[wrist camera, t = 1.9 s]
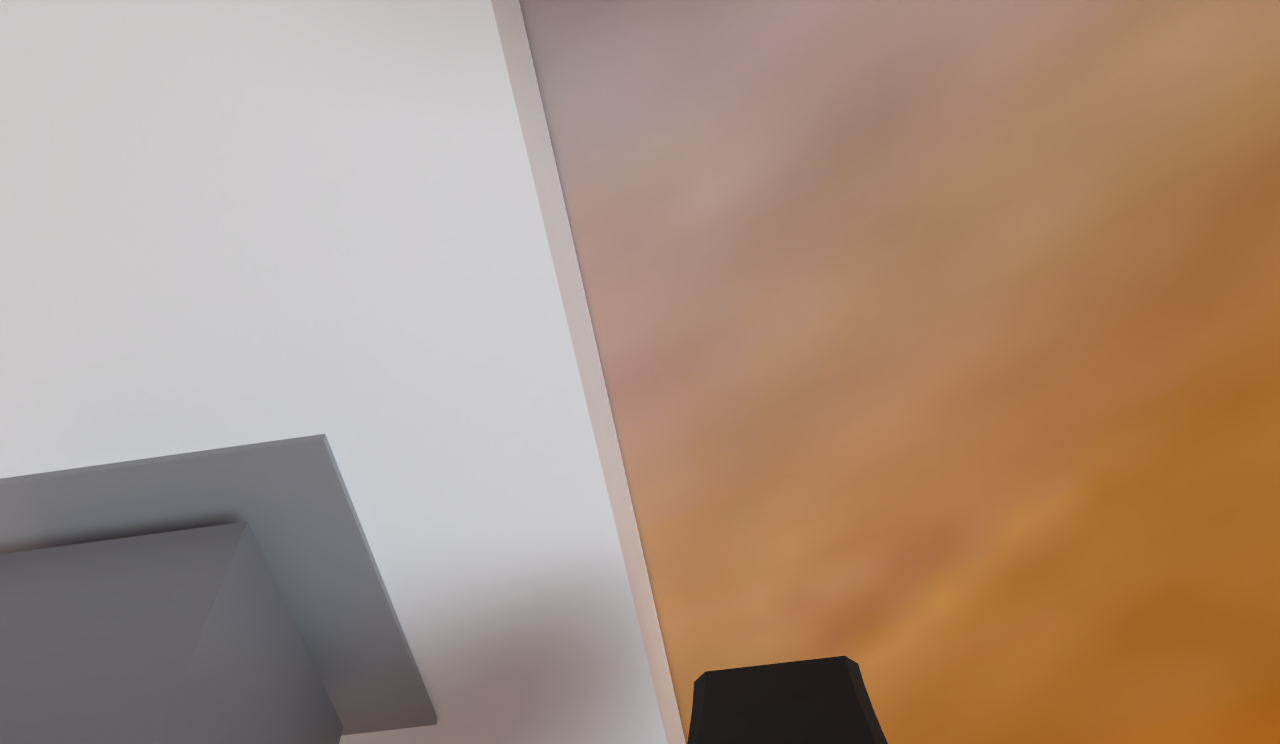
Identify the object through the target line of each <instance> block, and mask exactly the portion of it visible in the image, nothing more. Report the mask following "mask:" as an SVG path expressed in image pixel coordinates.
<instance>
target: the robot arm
mask: <svg viewBox="0 0 1280 744" xmlns="http://www.w3.org/2000/svg"><path fill="white" fill-rule="evenodd" d="M687 744H888V743H887V741H886V738H885V736H884V734H883V732H882V729H881V727H880V725H879V722H878V720H877V717H876V715H875V712H874V710H873V707H872V705H871V702H870V699H869V696H868V694H867V691H866V688H865V685H864V682H863V679H862V676H861V672H860V669H859V665H858V664H857V663H856V662H854V661H852V660H851V659H849V658H847V657H846V656H839V657H830V658H822V659H813V660H804V661H795V662H787V663H778V664H769V665H760V666H752V667H743V668H734V669H725V670H717V671H708V672H705V673H704V674H703V675H701V676H700V677H699V678H698V679H697V680H696V681H695V682H694V694H693V707H692V716H691V723H690V730H689V737H688V743H687Z"/></svg>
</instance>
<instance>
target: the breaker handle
mask: <svg viewBox="0 0 1280 744" xmlns="http://www.w3.org/2000/svg"><path fill="white" fill-rule="evenodd" d="M342 730H343V725H342V723H341V721H340V719H339V717H338V715H337V712H336V710H335V708H334V706H333V704H332V702H331V700H330V697H329V695H328V693H327V691H326V689H325V687H324V684H323V682H322V680H321V678H320V676H319V674H318V672H317V669H316V667H315V665H314V663H313V661H312V659H311V657H310V654H309V652H308V650H307V648H306V646H305V644H304V641H303V639H302V637H301V635H300V633H299V631H298V629H297V626H296V624H295V622H294V620H293V618H292V616H291V613H290V611H289V609H288V607H287V605H286V603H285V601H284V598H283V596H282V594H281V592H280V590H279V588H278V585H277V583H276V581H275V579H274V577H273V575H272V573H271V570H270V568H269V566H268V564H267V562H266V560H265V558H264V555H263V553H262V551H261V549H260V547H259V545H258V542H257V540H256V538H255V536H254V534H253V532H252V530H251V527H250V525H249V523H248V521H247V522H240V523H232V524H225V525H217V526H209V527H202V528H194V529H187V530H179V531H171V532H164V533H156V534H149V535H141V536H134V537H126V538H118V539H111V540H103V541H96V542H88V543H81V544H73V545H65V546H58V547H50V548H43V549H35V550H28V551H20V552H12V553H5V554H0V744H339V742H340V738H341V734H342Z"/></svg>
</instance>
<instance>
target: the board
mask: <svg viewBox="0 0 1280 744" xmlns="http://www.w3.org/2000/svg"><path fill="white" fill-rule="evenodd" d="M247 521H248V523H249V525H250V527H251V530H252V532H253V534H254V536H255V538H256V540H257V542H258V545H259V547H260V549H261V551H262V553H263V555H264V558H265V560H266V562H267V564H268V566H269V568H270V570H271V573H272V575H273V577H274V579H275V581H276V583H277V585H278V588H279V590H280V592H281V594H282V596H283V598H284V601H285V603H286V605H287V607H288V609H289V611H290V613H291V616H292V618H293V620H294V622H295V624H296V626H297V629H298V631H299V633H300V635H301V637H302V639H303V641H304V644H305V646H306V648H307V650H308V652H309V654H310V657H311V659H312V661H313V663H314V665H315V667H316V669H317V672H318V674H319V676H320V678H321V680H322V682H323V684H324V687H325V689H326V691H327V693H328V695H329V697H330V700H331V702H332V704H333V706H334V708H335V710H336V712H337V715H338V717H339V719H340V721H341V723H342V725H343V730H342V734H341V738H340V742H339V744H686V743H685V738H684V734H683V729H682V725H681V720H680V716H679V711H678V707H677V702H676V698H675V693H674V689H673V684H672V680H671V676H670V671H669V667H668V662H667V658H666V653H665V649H664V644H663V640H662V635H661V631H660V627H659V622H658V618H657V613H656V609H655V604H654V600H653V595H652V591H651V586H650V582H649V578H648V573H647V569H646V564H645V560H644V555H643V551H642V546H641V542H640V537H639V533H638V528H637V524H636V520H635V515H634V511H633V506H632V502H631V497H630V493H629V488H628V484H627V479H626V475H625V471H624V466H623V462H622V457H621V453H620V448H619V444H618V439H617V435H616V430H615V426H614V422H613V417H612V413H611V408H610V404H609V399H608V395H607V390H606V386H605V381H604V377H603V372H602V368H601V364H600V359H599V355H598V350H597V346H596V341H595V337H594V332H593V328H592V323H591V319H590V315H589V310H588V306H587V301H586V297H585V292H584V288H583V283H582V279H581V274H580V270H579V266H578V261H577V257H576V252H575V248H574V243H573V239H572V234H571V230H570V225H569V221H568V216H567V212H566V208H565V203H564V199H563V194H562V190H561V185H560V181H559V176H558V172H557V167H556V163H555V159H554V154H553V150H552V145H551V141H550V136H549V132H548V127H547V123H546V118H545V114H544V110H543V105H542V101H541V96H540V92H539V87H538V83H537V78H536V74H535V69H534V65H533V60H532V56H531V52H530V47H529V43H528V38H527V34H526V29H525V25H524V20H523V16H522V11H521V7H520V3H519V0H0V554H5V553H12V552H20V551H28V550H35V549H43V548H50V547H58V546H65V545H73V544H81V543H88V542H96V541H103V540H111V539H118V538H126V537H134V536H141V535H149V534H156V533H164V532H171V531H179V530H187V529H194V528H202V527H209V526H217V525H225V524H232V523H240V522H247Z"/></svg>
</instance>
